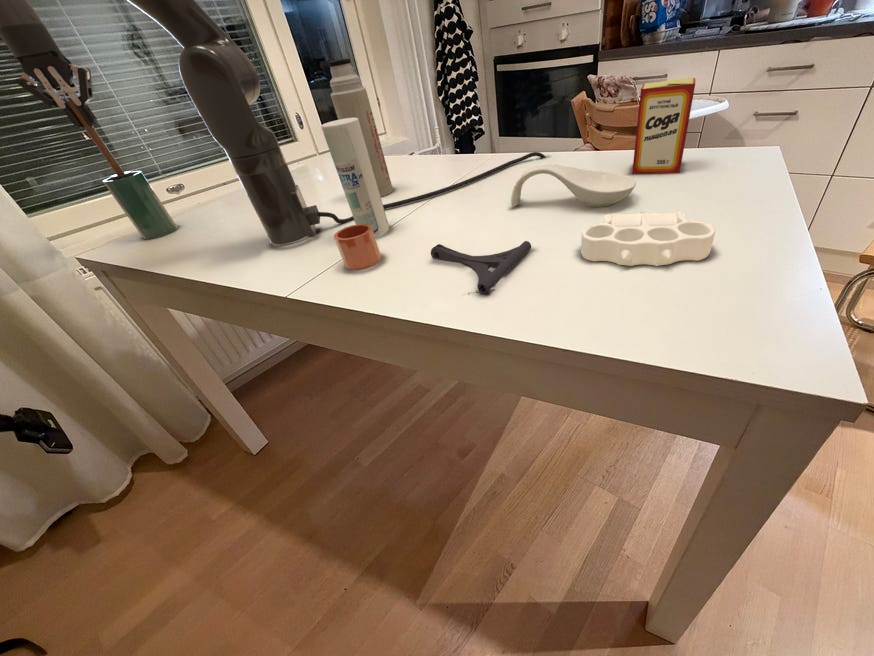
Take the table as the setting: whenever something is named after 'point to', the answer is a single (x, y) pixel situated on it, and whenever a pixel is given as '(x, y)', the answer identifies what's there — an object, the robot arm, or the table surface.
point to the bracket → (484, 263)
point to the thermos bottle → (359, 116)
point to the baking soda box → (662, 126)
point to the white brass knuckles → (647, 239)
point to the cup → (141, 205)
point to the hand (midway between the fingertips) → (88, 126)
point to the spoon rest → (582, 184)
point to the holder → (358, 246)
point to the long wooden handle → (99, 144)
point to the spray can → (356, 172)
